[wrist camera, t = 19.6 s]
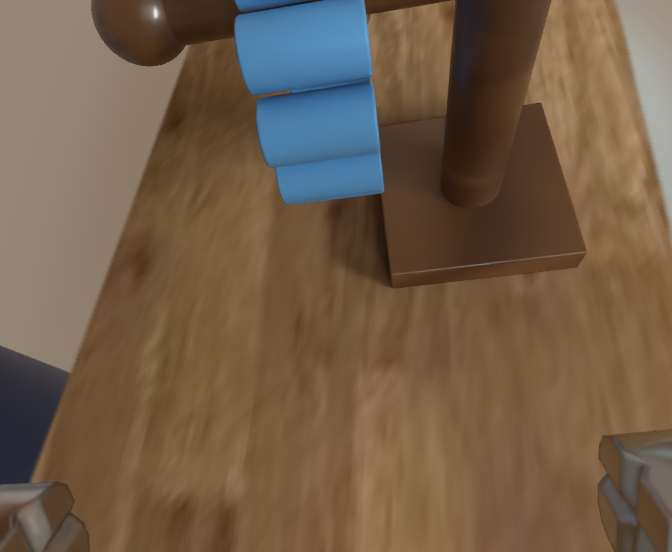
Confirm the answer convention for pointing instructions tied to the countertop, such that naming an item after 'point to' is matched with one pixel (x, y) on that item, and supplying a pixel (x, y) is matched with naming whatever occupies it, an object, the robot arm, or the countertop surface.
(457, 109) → the tape stand
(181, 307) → the countertop surface
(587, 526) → the countertop surface
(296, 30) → the blue cylinder bundle
